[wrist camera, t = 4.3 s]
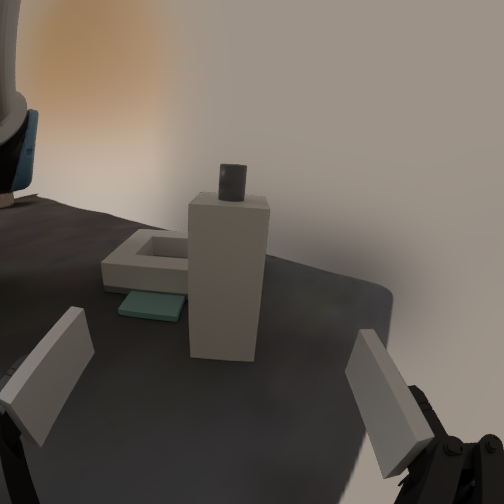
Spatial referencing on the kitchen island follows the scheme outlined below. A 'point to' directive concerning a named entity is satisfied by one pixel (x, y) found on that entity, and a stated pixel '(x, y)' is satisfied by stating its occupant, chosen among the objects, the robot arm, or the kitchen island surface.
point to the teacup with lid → (6, 200)
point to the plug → (226, 268)
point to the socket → (149, 274)
